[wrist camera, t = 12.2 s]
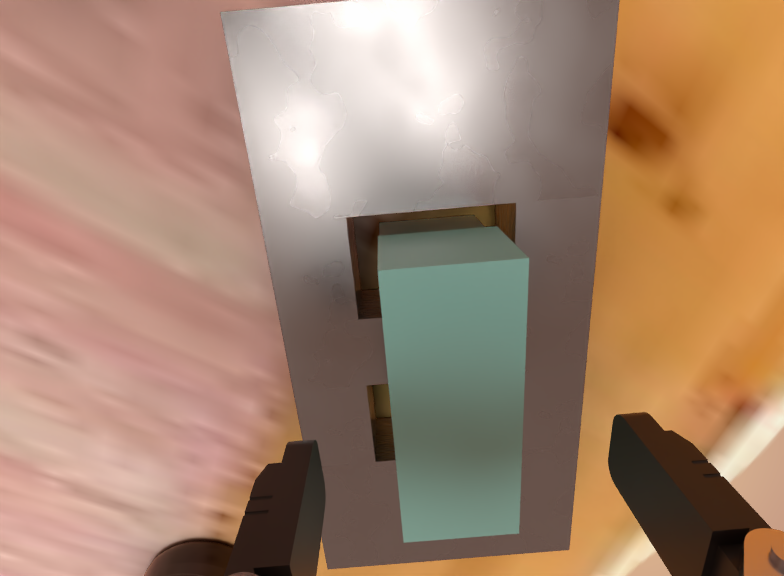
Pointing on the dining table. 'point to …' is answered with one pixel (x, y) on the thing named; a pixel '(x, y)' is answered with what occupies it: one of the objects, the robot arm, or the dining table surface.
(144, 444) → the dining table surface
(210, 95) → the dining table surface
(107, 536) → the dining table surface
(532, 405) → the grey slotted board
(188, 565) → the supplement bottle
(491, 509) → the mint green notched block
